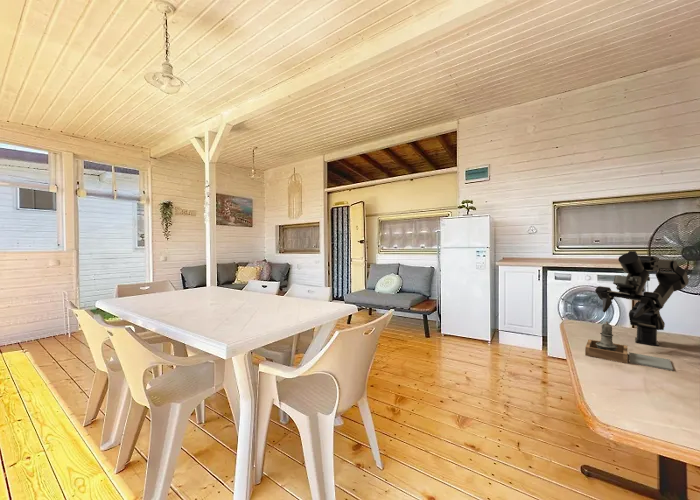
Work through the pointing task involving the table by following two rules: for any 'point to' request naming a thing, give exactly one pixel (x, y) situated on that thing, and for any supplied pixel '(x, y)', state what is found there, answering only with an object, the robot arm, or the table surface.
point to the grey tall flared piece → (606, 338)
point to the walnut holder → (606, 352)
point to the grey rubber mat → (650, 361)
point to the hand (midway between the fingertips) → (618, 314)
